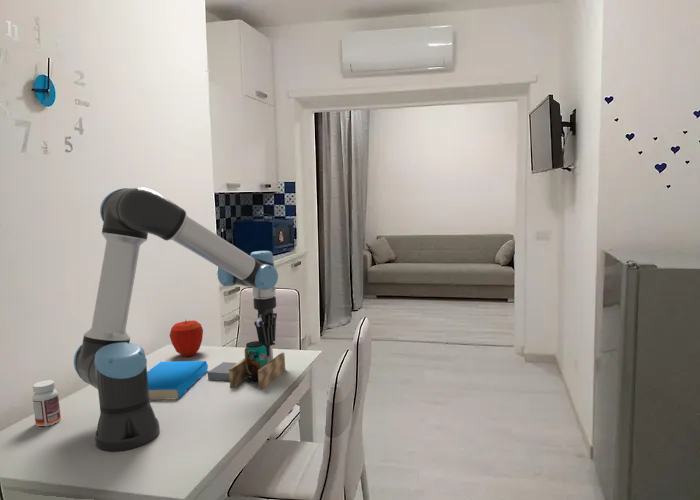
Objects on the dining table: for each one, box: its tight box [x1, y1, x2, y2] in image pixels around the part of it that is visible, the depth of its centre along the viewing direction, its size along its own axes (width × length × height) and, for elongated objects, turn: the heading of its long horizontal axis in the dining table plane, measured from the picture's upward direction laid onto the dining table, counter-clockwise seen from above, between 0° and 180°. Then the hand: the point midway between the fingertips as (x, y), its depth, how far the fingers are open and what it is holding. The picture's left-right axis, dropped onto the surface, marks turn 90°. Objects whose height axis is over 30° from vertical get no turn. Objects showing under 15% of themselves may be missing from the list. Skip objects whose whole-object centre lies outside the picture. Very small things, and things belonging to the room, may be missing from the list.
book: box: [147, 360, 209, 400], centre depth 173 cm, size 17×4×25 cm
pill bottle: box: [32, 379, 62, 427], centre depth 147 cm, size 6×6×11 cm
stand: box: [207, 361, 238, 381], centre depth 179 cm, size 10×10×2 cm
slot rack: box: [229, 352, 286, 390], centre depth 174 cm, size 18×11×6 cm, turn 163°
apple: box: [169, 320, 204, 357], centre depth 202 cm, size 12×12×14 cm
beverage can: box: [244, 340, 267, 383], centre depth 173 cm, size 7×7×12 cm
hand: (269, 364), depth 182 cm, fingers closed
